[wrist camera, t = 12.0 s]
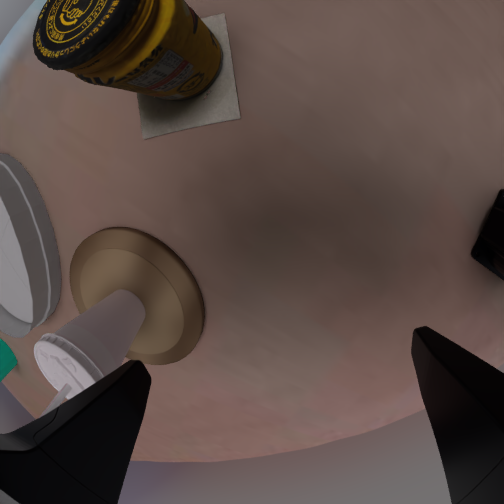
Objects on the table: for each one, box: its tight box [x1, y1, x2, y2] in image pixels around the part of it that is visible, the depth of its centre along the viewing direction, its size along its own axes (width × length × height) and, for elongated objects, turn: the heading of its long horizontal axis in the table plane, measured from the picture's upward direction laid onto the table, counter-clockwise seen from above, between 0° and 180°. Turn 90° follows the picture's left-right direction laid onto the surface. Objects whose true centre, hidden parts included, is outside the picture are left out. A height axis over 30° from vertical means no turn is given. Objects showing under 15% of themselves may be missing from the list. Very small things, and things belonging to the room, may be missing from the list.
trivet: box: [70, 227, 205, 365], centre depth 24 cm, size 14×14×1 cm
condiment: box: [33, 0, 240, 139], centre depth 11 cm, size 7×8×12 cm
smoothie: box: [34, 289, 146, 418], centre depth 17 cm, size 6×6×14 cm
